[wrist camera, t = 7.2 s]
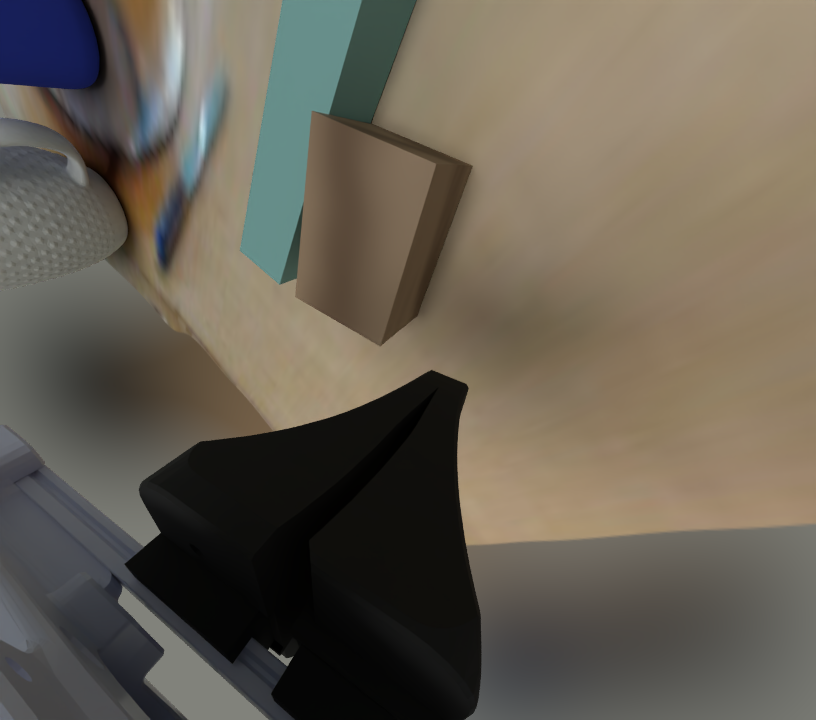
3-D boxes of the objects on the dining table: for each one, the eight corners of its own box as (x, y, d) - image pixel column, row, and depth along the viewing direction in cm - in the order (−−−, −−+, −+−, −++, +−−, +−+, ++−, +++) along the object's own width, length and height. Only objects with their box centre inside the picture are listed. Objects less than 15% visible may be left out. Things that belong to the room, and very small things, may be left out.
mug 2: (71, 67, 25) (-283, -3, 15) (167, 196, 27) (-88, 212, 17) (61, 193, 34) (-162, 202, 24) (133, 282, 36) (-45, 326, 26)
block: (473, 165, 16) (436, 163, 12) (418, 314, 21) (380, 346, 18) (374, 124, 17) (311, 110, 13) (345, 275, 23) (295, 297, 19)
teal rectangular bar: (533, -317, 9) (510, -513, 7) (315, 271, 23) (279, 284, 21) (442, -379, 10) (384, -597, 7) (280, 241, 24) (240, 250, 21)
